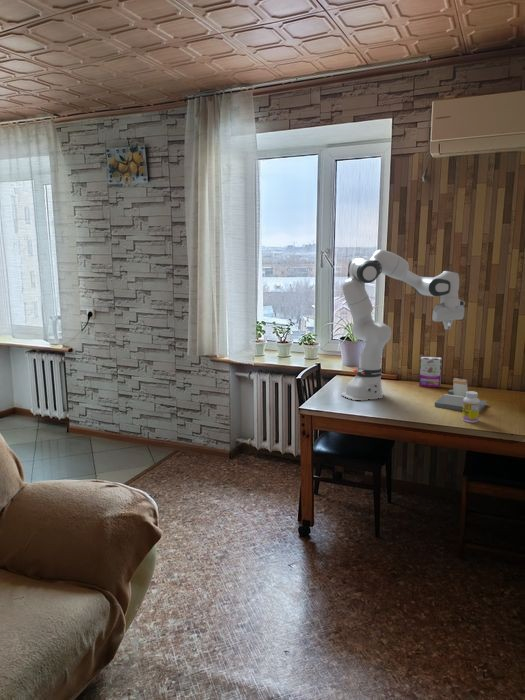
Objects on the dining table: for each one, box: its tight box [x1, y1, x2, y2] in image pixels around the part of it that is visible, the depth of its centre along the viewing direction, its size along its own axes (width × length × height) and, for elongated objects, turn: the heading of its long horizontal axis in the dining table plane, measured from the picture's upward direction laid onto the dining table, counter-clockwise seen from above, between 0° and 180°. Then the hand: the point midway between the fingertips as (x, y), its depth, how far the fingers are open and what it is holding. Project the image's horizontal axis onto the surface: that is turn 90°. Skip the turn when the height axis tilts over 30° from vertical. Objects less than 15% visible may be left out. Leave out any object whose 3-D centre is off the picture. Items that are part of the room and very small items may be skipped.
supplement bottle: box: [461, 390, 480, 424], centre depth 218 cm, size 7×7×13 cm
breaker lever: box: [452, 377, 469, 397], centre depth 238 cm, size 2×6×12 cm, turn 55°
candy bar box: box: [418, 356, 443, 389], centre depth 277 cm, size 11×5×16 cm, turn 68°
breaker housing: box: [434, 389, 487, 414], centre depth 240 cm, size 16×20×7 cm
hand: (447, 329), depth 259 cm, fingers closed
